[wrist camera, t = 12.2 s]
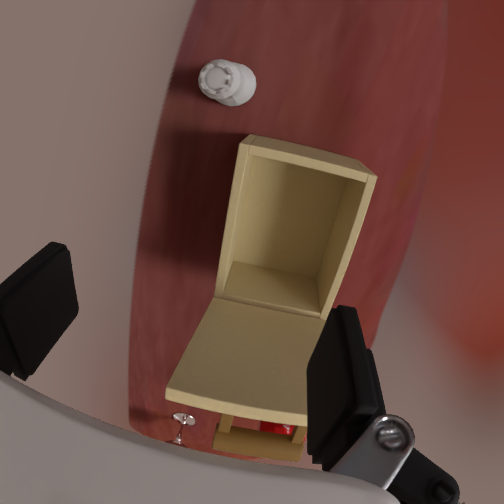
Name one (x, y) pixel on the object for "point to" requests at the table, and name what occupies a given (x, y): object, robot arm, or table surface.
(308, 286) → the chest
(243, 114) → the table surface
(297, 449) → the lid
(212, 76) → the rook chess piece
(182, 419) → the wineglass
